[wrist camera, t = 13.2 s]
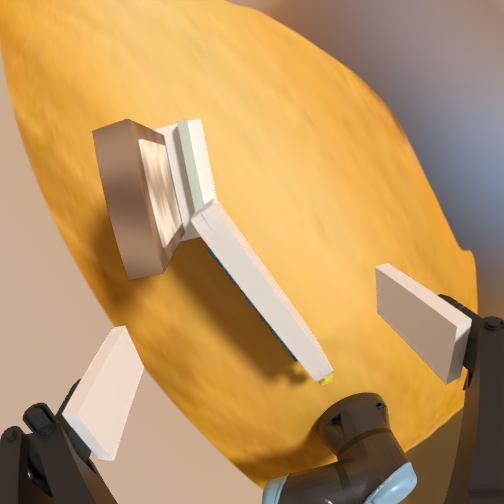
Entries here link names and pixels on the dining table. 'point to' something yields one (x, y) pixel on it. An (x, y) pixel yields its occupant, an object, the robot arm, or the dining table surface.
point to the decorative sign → (260, 289)
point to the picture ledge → (189, 170)
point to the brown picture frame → (139, 196)
